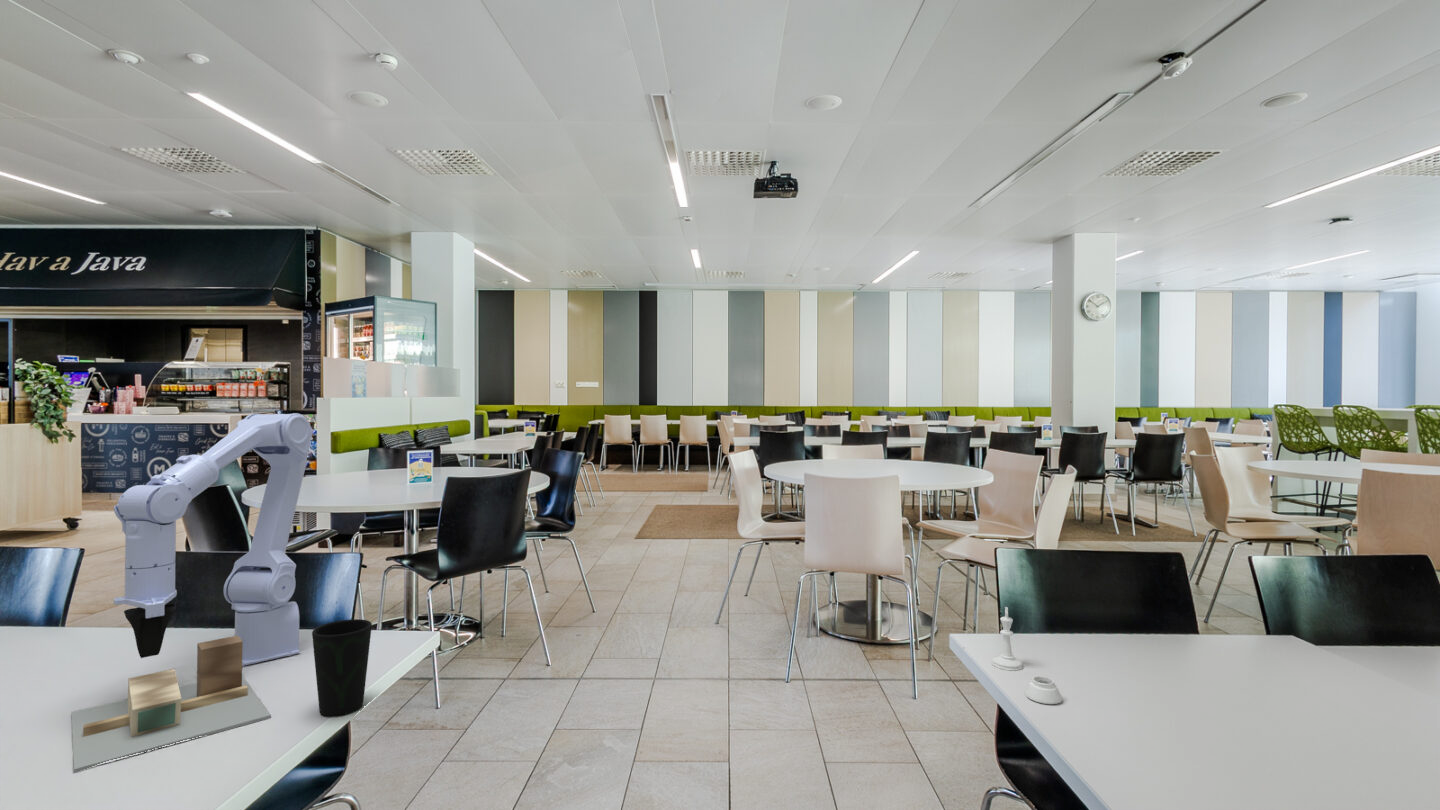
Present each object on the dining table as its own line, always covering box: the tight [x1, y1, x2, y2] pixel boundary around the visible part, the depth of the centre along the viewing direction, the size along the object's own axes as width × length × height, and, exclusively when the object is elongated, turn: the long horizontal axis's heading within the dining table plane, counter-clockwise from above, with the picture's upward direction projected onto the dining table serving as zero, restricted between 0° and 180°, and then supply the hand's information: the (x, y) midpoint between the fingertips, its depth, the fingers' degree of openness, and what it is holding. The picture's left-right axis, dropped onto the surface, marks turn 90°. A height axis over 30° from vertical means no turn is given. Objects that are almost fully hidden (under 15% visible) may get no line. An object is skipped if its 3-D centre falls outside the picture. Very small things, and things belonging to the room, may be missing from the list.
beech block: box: [127, 668, 181, 737], centre depth 90 cm, size 5×4×8 cm
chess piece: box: [991, 606, 1024, 672], centre depth 112 cm, size 5×5×10 cm
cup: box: [311, 618, 373, 718], centre depth 96 cm, size 8×8×12 cm
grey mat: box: [70, 674, 272, 773], centre depth 93 cm, size 20×22×1 cm
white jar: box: [1024, 675, 1063, 705], centre depth 99 cm, size 5×3×5 cm
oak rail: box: [83, 685, 248, 737], centre depth 93 cm, size 18×1×1 cm, turn 136°
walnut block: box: [196, 635, 243, 697], centre depth 99 cm, size 5×4×8 cm
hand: (149, 655), depth 97 cm, fingers closed
